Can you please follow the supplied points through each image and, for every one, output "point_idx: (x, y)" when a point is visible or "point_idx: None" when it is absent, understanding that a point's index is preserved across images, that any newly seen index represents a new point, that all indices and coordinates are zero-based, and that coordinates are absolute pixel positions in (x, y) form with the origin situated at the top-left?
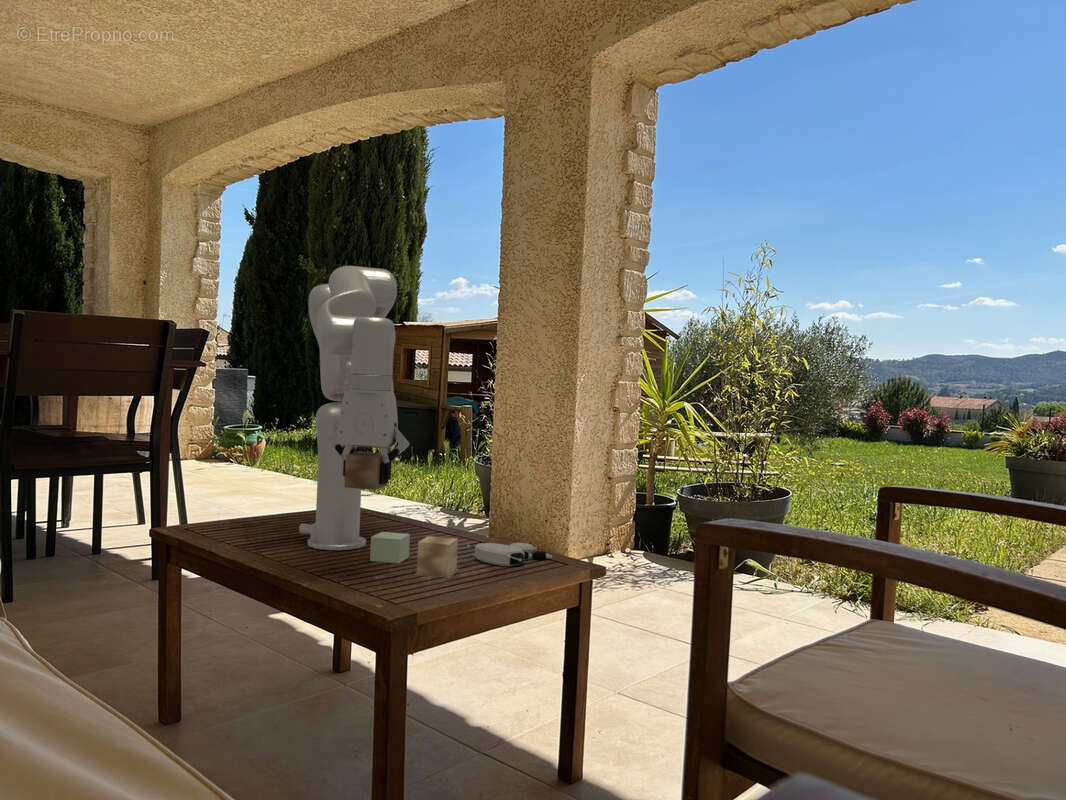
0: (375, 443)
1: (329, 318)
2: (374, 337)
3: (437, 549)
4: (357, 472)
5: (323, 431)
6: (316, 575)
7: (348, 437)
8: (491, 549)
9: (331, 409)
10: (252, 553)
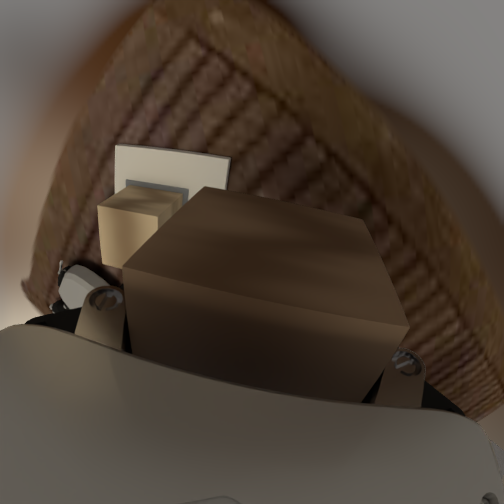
0: (87, 367)
1: None
2: None
3: (124, 205)
4: (301, 239)
5: None
6: (377, 201)
7: (425, 469)
8: (86, 288)
9: None
10: (469, 321)
